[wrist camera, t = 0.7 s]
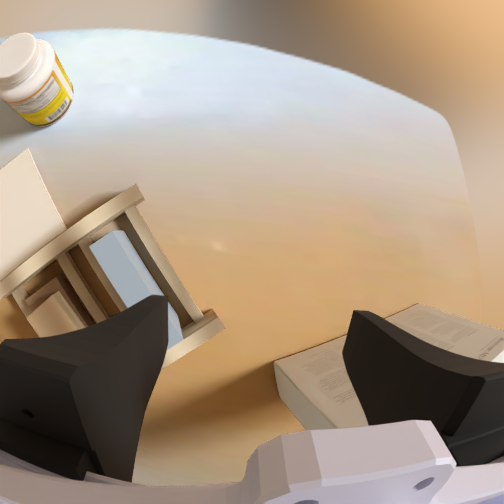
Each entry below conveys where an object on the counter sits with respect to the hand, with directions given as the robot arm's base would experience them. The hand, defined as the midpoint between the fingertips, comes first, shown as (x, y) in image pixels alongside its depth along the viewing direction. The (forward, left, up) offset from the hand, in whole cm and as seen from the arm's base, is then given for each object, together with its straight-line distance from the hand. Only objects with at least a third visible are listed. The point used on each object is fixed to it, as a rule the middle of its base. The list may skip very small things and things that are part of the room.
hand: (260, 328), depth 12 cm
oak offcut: (-13, +2, -16) cm, 20 cm away
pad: (-13, +14, -17) cm, 26 cm away
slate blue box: (-5, +2, -18) cm, 18 cm away
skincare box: (+10, -18, -18) cm, 27 cm away
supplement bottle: (-5, +22, -18) cm, 29 cm away
